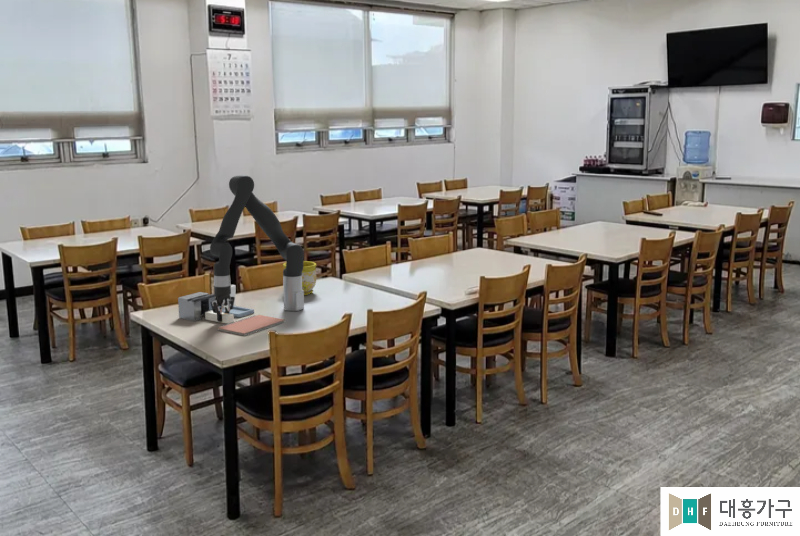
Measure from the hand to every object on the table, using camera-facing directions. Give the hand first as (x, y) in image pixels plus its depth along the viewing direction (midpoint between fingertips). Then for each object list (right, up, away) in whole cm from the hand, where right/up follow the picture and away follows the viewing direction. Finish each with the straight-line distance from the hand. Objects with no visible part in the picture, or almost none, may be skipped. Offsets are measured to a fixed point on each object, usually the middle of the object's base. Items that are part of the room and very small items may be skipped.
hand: (223, 320), depth 340 cm
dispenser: (-14, +1, +8) cm, 17 cm away
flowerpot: (+28, +10, +58) cm, 65 cm away
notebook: (+14, -3, -7) cm, 16 cm away
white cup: (-5, +5, +30) cm, 31 cm away
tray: (0, +3, +16) cm, 16 cm away
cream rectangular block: (-2, 0, +1) cm, 3 cm away
